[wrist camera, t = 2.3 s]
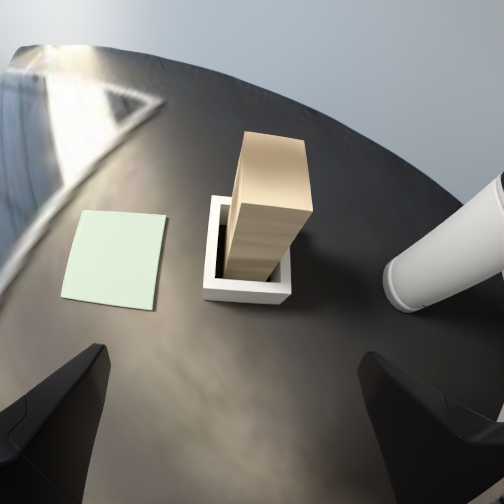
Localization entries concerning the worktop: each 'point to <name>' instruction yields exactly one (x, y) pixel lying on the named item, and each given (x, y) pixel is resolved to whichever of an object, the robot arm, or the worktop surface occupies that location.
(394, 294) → the travel mug
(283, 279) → the holder box
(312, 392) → the worktop surface
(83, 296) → the mat
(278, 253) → the tall tan tower
